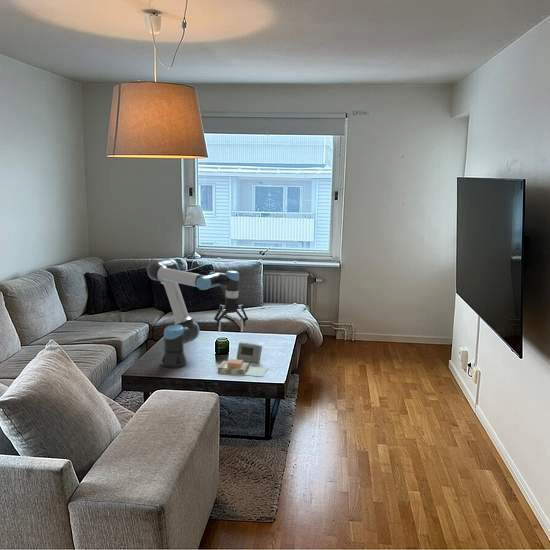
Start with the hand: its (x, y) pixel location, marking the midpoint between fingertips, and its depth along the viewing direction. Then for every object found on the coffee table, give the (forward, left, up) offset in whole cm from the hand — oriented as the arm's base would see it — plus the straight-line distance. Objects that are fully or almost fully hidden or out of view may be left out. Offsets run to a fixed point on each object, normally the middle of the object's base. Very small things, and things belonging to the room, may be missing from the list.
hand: (230, 331), depth 327 cm
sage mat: (+17, -5, -22) cm, 29 cm away
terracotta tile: (+4, -5, -19) cm, 20 cm away
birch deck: (+3, -5, -22) cm, 23 cm away
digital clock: (+8, +14, -22) cm, 28 cm away
